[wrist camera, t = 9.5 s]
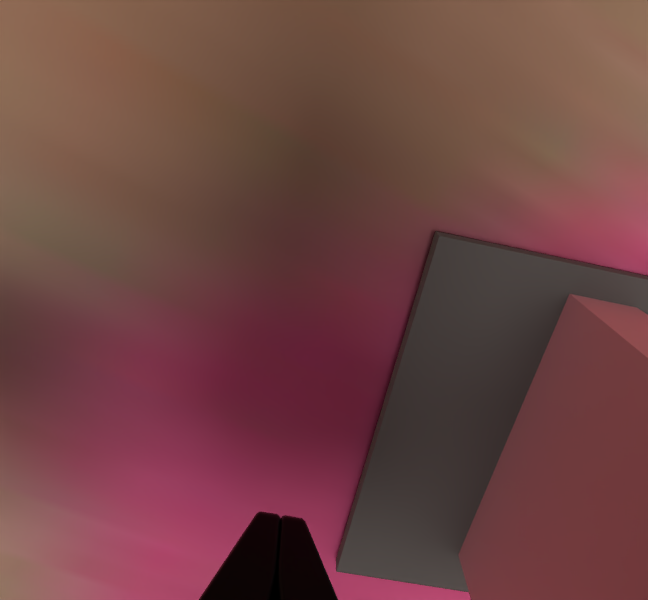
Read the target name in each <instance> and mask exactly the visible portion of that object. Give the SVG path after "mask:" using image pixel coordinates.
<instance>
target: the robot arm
mask: <svg viewBox="0 0 648 600" xmlns="http://www.w3.org/2000/svg"><path fill="white" fill-rule="evenodd" d="M199 600H338V599H337V596H336V594H335V592H334V589H333V587H332V584H331V582H330V580H329V577H328V575H327V572H326V570H325V568H324V565H323V563H322V560H321V558H320V556H319V553H318V551H317V549H316V546H315V544H314V541H313V539H312V537H311V534H310V532H309V529H308V527H307V525H306V522H305V521H304V520H303V519H302V518H297V517H291V516H282V517H281V519H280V516H279V515H278V514H273V513H266V512H258V513H257V514H256V515H255V516H254V518H253V519H252V521H251V522H250V524H249V525H248V527H247V528H246V530H245V531H244V533H243V534H242V536H241V537H240V539H239V540H238V542H237V543H236V545H235V546H234V548H233V549H232V551H231V552H230V554H229V555H228V557H227V558H226V560H225V561H224V563H223V564H222V566H221V567H220V569H219V570H218V572H217V573H216V575H215V576H214V578H213V579H212V581H211V582H210V584H209V585H208V587H207V588H206V590H205V591H204V593H203V594H202V596H201V597H200V599H199Z"/></svg>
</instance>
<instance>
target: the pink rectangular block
mask: <svg viewBox="0 0 648 600" xmlns="http://www.w3.org/2000/svg"><path fill="white" fill-rule="evenodd" d="M458 556H459V559H460V563H461V566H462V570H463V573H464V577H465V580H466V584H467V587H468V591H469V594H470V598H471V600H648V315H647V314H646V313H644V312H643V311H641V310H640V309H638V308H636V307H631V306H627V305H622V304H617V303H612V302H607V301H602V300H598V299H593V298H588V297H583V296H578V295H573V294H569V296H568V298H567V301H566V303H565V306H564V308H563V310H562V313H561V315H560V317H559V320H558V322H557V324H556V327H555V329H554V331H553V334H552V336H551V338H550V341H549V343H548V345H547V348H546V350H545V352H544V355H543V357H542V359H541V362H540V364H539V367H538V369H537V371H536V374H535V376H534V378H533V381H532V383H531V385H530V388H529V390H528V392H527V395H526V397H525V399H524V402H523V404H522V406H521V409H520V411H519V413H518V416H517V418H516V421H515V423H514V425H513V428H512V430H511V432H510V435H509V437H508V439H507V442H506V444H505V446H504V449H503V451H502V453H501V456H500V458H499V460H498V463H497V465H496V467H495V470H494V472H493V475H492V477H491V479H490V482H489V484H488V486H487V489H486V491H485V493H484V496H483V498H482V500H481V503H480V505H479V507H478V510H477V512H476V514H475V517H474V519H473V521H472V524H471V526H470V529H469V531H468V533H467V536H466V538H465V540H464V543H463V545H462V547H461V550H460V552H459V554H458Z"/></svg>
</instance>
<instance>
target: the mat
mask: <svg viewBox="0 0 648 600" xmlns="http://www.w3.org/2000/svg"><path fill="white" fill-rule="evenodd" d="M569 294H573V295H578V296H583V297H588V298H593V299H598V300H602V301H607V302H612V303H617V304H622V305H627V306H631V307H636V308H638V309H640V310H641V311H643V312H644V313H646V314H647V315H648V276H646V275H641V274H636V273H631V272H627V271H622V270H617V269H612V268H608V267H603V266H598V265H594V264H589V263H584V262H579V261H575V260H570V259H565V258H561V257H556V256H551V255H546V254H542V253H537V252H532V251H528V250H523V249H518V248H513V247H509V246H504V245H499V244H495V243H490V242H485V241H480V240H476V239H471V238H466V237H462V236H457V235H452V234H447V233H443V232H438V231H435V235H434V238H433V241H432V244H431V248H430V251H429V254H428V258H427V261H426V264H425V268H424V271H423V274H422V277H421V281H420V284H419V287H418V291H417V294H416V297H415V301H414V304H413V307H412V310H411V314H410V317H409V320H408V324H407V327H406V330H405V334H404V337H403V340H402V343H401V347H400V350H399V353H398V357H397V360H396V363H395V367H394V370H393V373H392V376H391V380H390V383H389V386H388V390H387V393H386V396H385V400H384V403H383V406H382V409H381V413H380V416H379V419H378V423H377V426H376V429H375V433H374V436H373V439H372V442H371V446H370V449H369V452H368V456H367V459H366V462H365V466H364V469H363V472H362V475H361V479H360V482H359V485H358V489H357V492H356V495H355V499H354V502H353V505H352V508H351V512H350V515H349V518H348V522H347V525H346V528H345V532H344V535H343V538H342V541H341V545H340V548H339V551H338V555H337V558H336V572H343V573H349V574H356V575H362V576H368V577H375V578H381V579H388V580H394V581H400V582H407V583H413V584H420V585H426V586H432V587H439V588H445V589H452V590H458V591H464V592H469V591H468V587H467V584H466V580H465V577H464V573H463V570H462V566H461V563H460V559H459V556H458V554H459V552H460V550H461V547H462V545H463V543H464V540H465V538H466V536H467V533H468V531H469V529H470V526H471V524H472V521H473V519H474V517H475V514H476V512H477V510H478V507H479V505H480V503H481V500H482V498H483V496H484V493H485V491H486V489H487V486H488V484H489V482H490V479H491V477H492V475H493V472H494V470H495V467H496V465H497V463H498V460H499V458H500V456H501V453H502V451H503V449H504V446H505V444H506V442H507V439H508V437H509V435H510V432H511V430H512V428H513V425H514V423H515V421H516V418H517V416H518V413H519V411H520V409H521V406H522V404H523V402H524V399H525V397H526V395H527V392H528V390H529V388H530V385H531V383H532V381H533V378H534V376H535V374H536V371H537V369H538V367H539V364H540V362H541V359H542V357H543V355H544V352H545V350H546V348H547V345H548V343H549V341H550V338H551V336H552V334H553V331H554V329H555V327H556V324H557V322H558V320H559V317H560V315H561V313H562V310H563V308H564V306H565V303H566V301H567V298H568V296H569Z"/></svg>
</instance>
